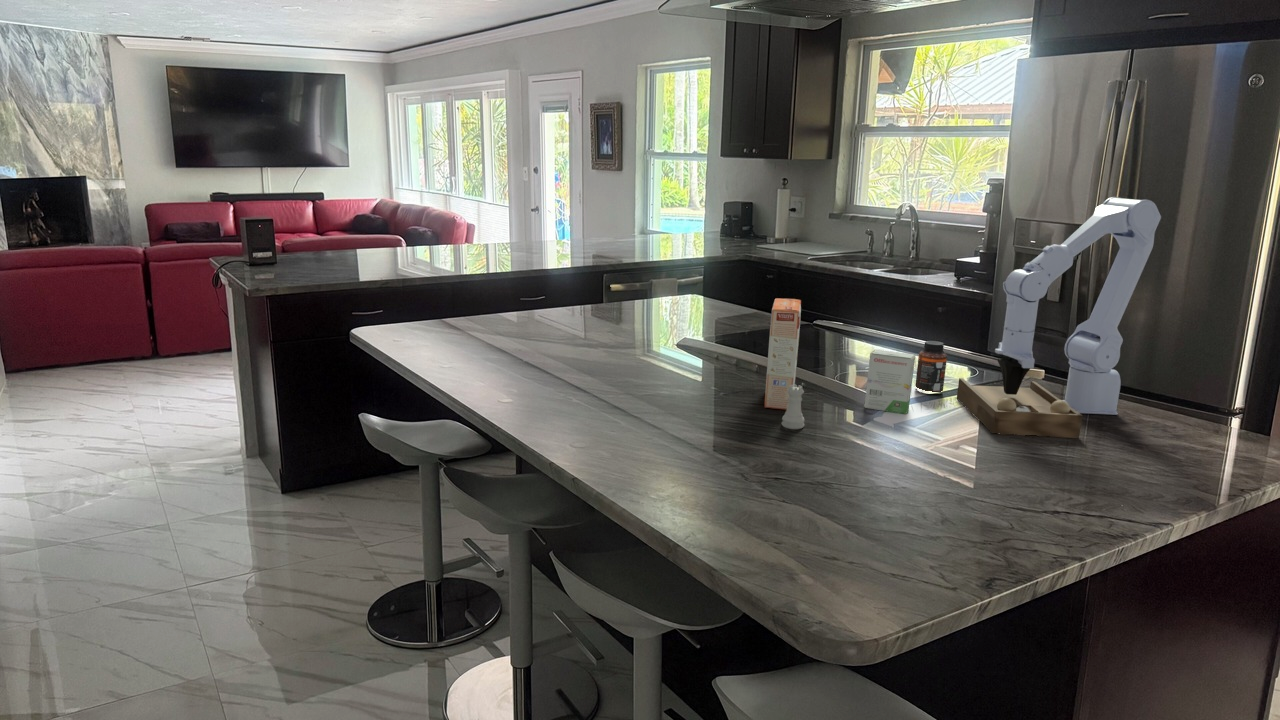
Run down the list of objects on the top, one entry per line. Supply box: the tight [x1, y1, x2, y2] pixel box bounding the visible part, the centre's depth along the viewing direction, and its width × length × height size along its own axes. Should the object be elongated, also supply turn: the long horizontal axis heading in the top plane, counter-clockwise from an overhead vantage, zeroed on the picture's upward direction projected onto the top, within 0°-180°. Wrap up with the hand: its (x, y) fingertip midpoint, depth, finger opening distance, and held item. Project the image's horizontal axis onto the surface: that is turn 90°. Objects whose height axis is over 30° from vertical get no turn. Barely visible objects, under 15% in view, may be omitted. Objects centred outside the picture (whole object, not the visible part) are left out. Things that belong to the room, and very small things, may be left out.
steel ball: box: [1015, 406, 1031, 412], centre depth 171 cm, size 3×3×3 cm
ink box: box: [864, 349, 916, 415], centre depth 177 cm, size 9×5×12 cm, turn 65°
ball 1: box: [997, 398, 1016, 411], centre depth 165 cm, size 3×3×3 cm
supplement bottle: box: [914, 340, 948, 392], centre depth 190 cm, size 6×6×11 cm
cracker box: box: [764, 297, 802, 411], centre depth 179 cm, size 14×6×21 cm, turn 168°
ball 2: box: [1050, 399, 1070, 414], centre depth 164 cm, size 3×3×3 cm
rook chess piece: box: [781, 384, 805, 430], centre depth 164 cm, size 4×4×8 cm
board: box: [956, 377, 1083, 439], centre depth 174 cm, size 16×24×4 cm, turn 176°
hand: (1010, 393), depth 177 cm, fingers closed
